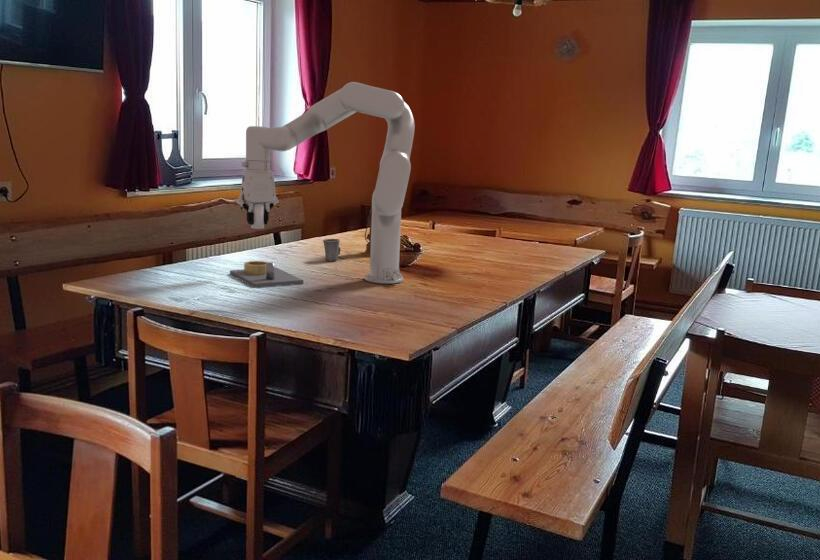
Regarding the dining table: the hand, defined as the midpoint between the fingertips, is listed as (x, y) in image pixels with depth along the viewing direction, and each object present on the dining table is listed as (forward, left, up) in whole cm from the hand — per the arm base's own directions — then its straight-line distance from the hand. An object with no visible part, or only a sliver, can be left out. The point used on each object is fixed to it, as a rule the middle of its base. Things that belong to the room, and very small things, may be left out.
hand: (257, 223), depth 238 cm
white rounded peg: (0, 0, -1) cm, 1 cm away
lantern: (+25, -61, -17) cm, 68 cm away
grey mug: (+19, -37, -17) cm, 45 cm away
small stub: (-11, 0, -16) cm, 19 cm away
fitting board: (-5, -1, -17) cm, 18 cm away
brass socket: (0, 0, -16) cm, 16 cm away
